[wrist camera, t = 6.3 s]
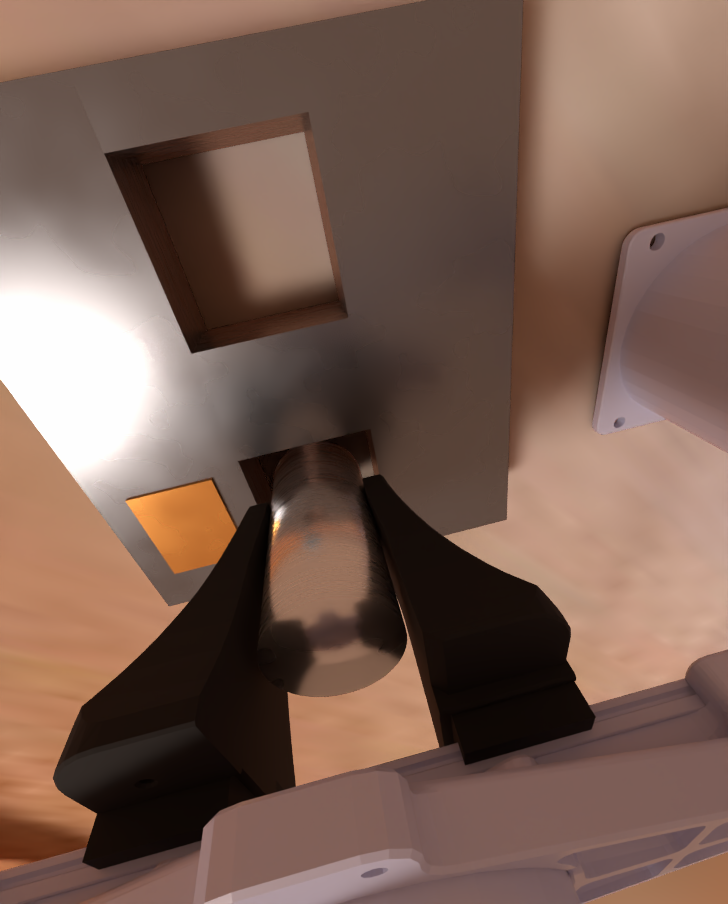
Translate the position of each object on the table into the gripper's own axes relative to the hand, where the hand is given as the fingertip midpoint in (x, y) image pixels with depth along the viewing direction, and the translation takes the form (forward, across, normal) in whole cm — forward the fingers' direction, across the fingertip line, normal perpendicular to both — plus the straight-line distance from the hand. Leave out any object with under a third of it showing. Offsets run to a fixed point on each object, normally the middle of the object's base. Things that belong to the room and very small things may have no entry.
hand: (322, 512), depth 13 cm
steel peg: (+2, 0, 0) cm, 2 cm away
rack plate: (+3, 0, -4) cm, 5 cm away
